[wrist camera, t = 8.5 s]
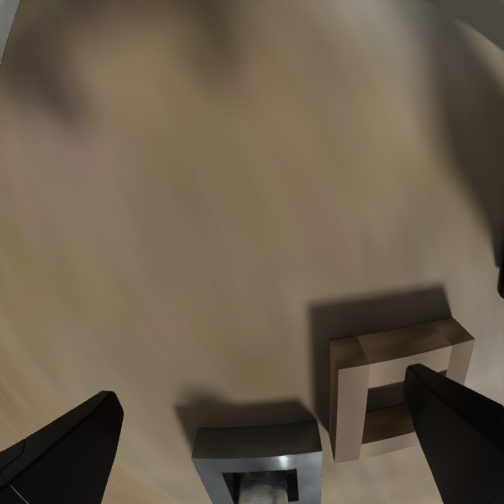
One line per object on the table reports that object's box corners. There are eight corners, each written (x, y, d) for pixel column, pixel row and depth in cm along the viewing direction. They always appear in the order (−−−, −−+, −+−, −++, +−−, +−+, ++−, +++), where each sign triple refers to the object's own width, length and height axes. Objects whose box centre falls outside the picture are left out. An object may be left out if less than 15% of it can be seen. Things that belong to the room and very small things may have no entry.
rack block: (317, 420, 24) (322, 451, 20) (317, 481, 26) (320, 507, 23) (198, 428, 24) (191, 458, 21) (220, 486, 27) (217, 512, 24)
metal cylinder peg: (284, 445, 25) (287, 530, 16) (286, 469, 26) (290, 546, 17) (239, 448, 25) (231, 531, 16) (245, 471, 26) (240, 547, 17)
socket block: (452, 316, 21) (474, 339, 17) (432, 410, 23) (446, 435, 20) (328, 340, 21) (338, 369, 18) (328, 433, 24) (334, 463, 21)
